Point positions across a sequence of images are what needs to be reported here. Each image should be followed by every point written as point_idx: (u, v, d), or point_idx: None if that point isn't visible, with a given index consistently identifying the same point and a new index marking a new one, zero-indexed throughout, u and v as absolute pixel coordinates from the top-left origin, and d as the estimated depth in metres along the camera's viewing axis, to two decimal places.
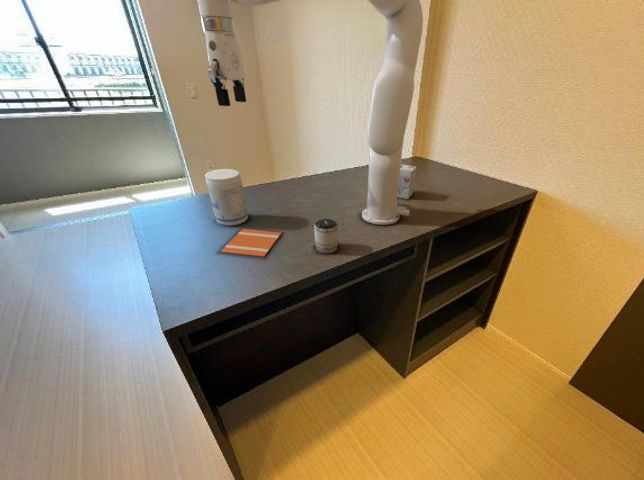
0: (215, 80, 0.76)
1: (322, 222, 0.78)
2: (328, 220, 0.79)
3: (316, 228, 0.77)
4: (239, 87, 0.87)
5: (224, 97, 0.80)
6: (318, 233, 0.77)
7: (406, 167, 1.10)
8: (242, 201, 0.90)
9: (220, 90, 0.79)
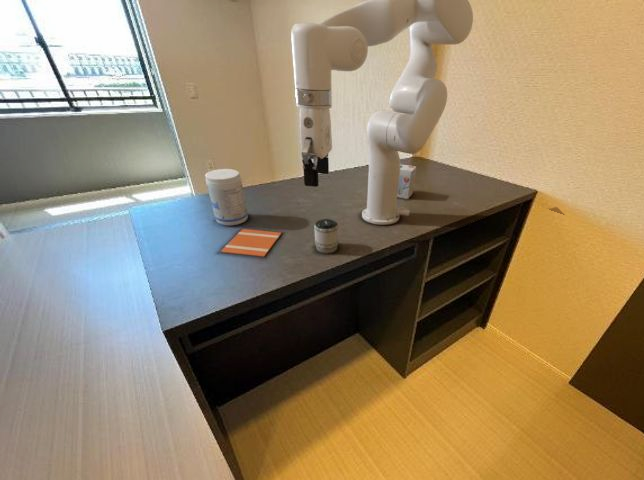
0: (308, 162, 0.63)
1: (322, 222, 0.78)
2: (328, 220, 0.79)
3: (316, 228, 0.77)
4: (323, 158, 0.74)
5: (313, 178, 0.67)
6: (318, 233, 0.77)
7: (406, 167, 1.10)
8: (242, 201, 0.90)
9: (310, 171, 0.66)
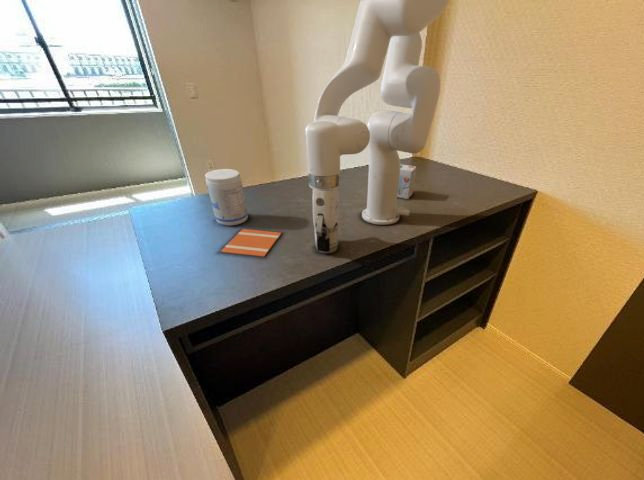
0: (322, 236, 0.73)
1: None
2: None
3: None
4: None
5: (325, 245, 0.77)
6: None
7: (406, 167, 1.10)
8: (242, 201, 0.90)
9: (323, 240, 0.76)
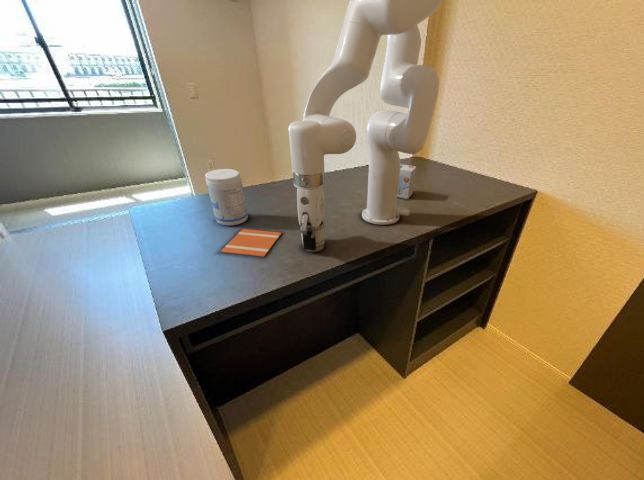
0: (307, 234, 0.74)
1: None
2: None
3: None
4: None
5: (311, 244, 0.78)
6: None
7: (406, 167, 1.10)
8: (242, 201, 0.90)
9: (309, 239, 0.76)
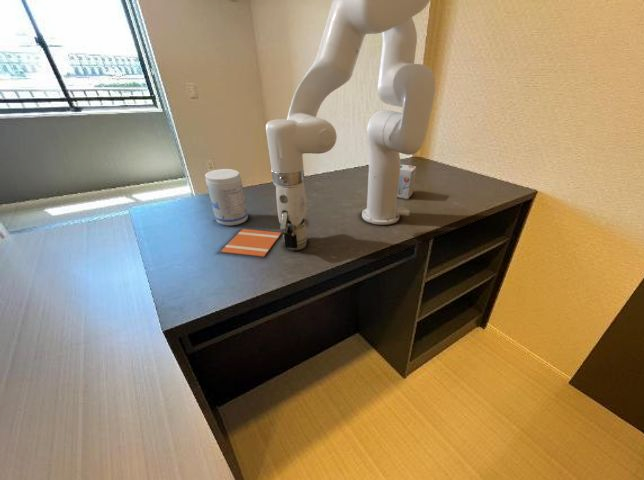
0: (287, 232, 0.74)
1: None
2: None
3: None
4: None
5: (292, 242, 0.78)
6: None
7: (406, 167, 1.10)
8: (242, 201, 0.90)
9: (289, 237, 0.77)
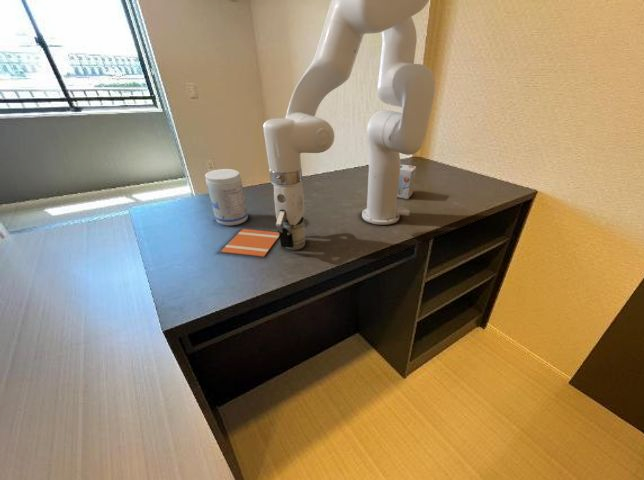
0: (282, 231, 0.73)
1: None
2: None
3: None
4: None
5: (288, 241, 0.76)
6: None
7: (406, 167, 1.10)
8: (242, 201, 0.90)
9: (285, 236, 0.75)
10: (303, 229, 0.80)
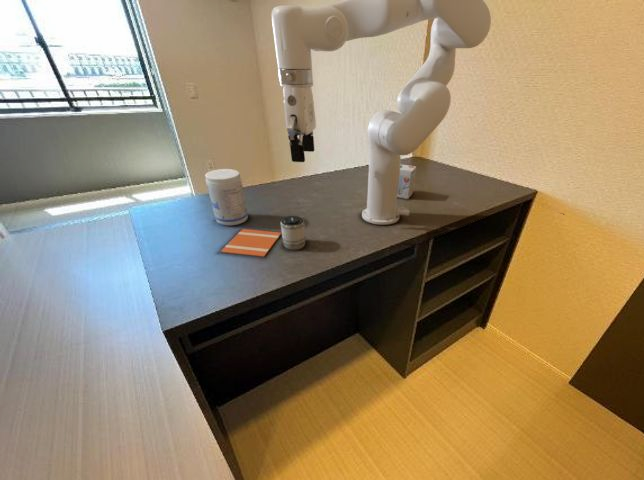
0: (294, 138, 0.68)
1: (288, 219, 0.79)
2: (294, 216, 0.80)
3: (282, 225, 0.78)
4: (308, 137, 0.79)
5: (300, 153, 0.72)
6: (284, 230, 0.78)
7: (406, 167, 1.10)
8: (242, 201, 0.90)
9: (296, 147, 0.71)
10: (303, 229, 0.80)
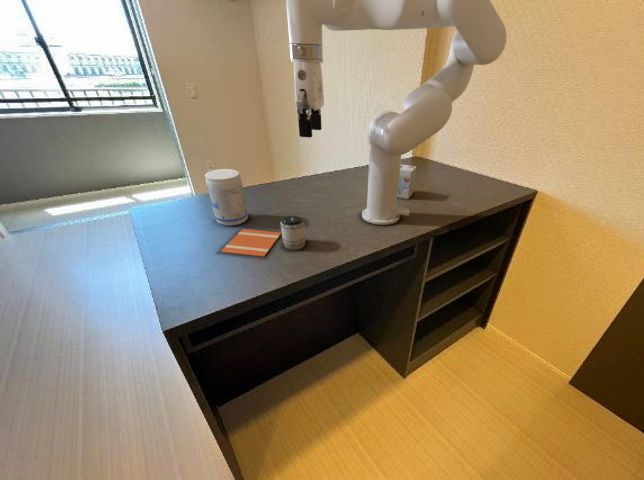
0: (302, 111, 0.70)
1: (288, 219, 0.79)
2: (294, 216, 0.80)
3: (282, 225, 0.78)
4: (316, 115, 0.82)
5: (307, 128, 0.74)
6: (284, 230, 0.78)
7: (406, 167, 1.10)
8: (242, 201, 0.90)
9: (304, 121, 0.73)
10: (303, 229, 0.80)
